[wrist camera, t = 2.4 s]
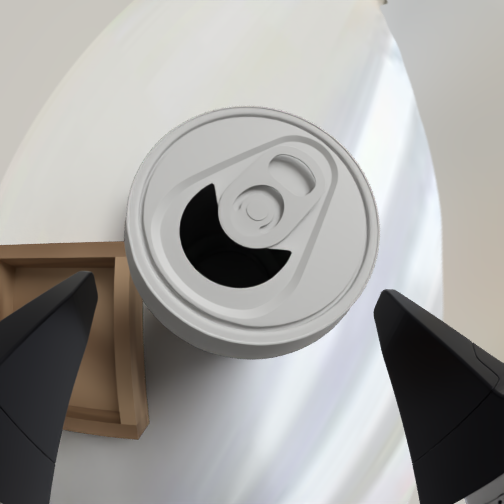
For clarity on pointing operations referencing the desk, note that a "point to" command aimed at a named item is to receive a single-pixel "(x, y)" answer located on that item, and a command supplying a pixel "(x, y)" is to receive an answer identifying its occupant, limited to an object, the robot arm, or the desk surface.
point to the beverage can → (250, 232)
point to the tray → (101, 334)
